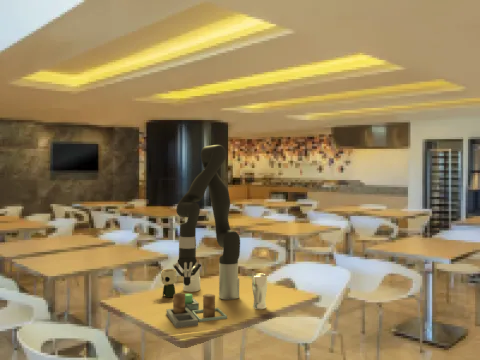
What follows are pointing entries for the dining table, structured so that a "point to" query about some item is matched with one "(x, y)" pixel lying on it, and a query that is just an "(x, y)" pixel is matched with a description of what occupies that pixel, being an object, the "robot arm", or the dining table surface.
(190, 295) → the button
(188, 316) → the grey shallow tray
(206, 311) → the cylinder
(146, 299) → the dining table surface
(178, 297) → the cylinder
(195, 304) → the console
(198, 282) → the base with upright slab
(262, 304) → the beer glass
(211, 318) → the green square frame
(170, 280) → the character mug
